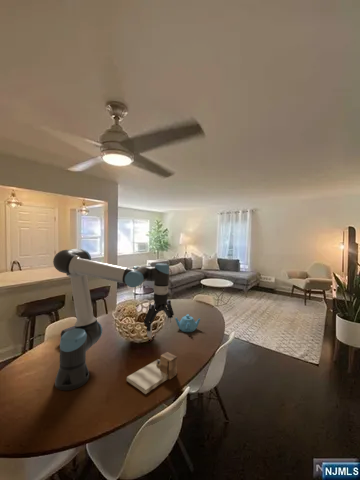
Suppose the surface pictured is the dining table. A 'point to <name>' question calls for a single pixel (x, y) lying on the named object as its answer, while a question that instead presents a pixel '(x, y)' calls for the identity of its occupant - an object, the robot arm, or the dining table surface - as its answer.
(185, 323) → the teapot
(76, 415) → the dining table surface
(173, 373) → the brown rectangular block
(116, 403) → the dining table surface
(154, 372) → the board
